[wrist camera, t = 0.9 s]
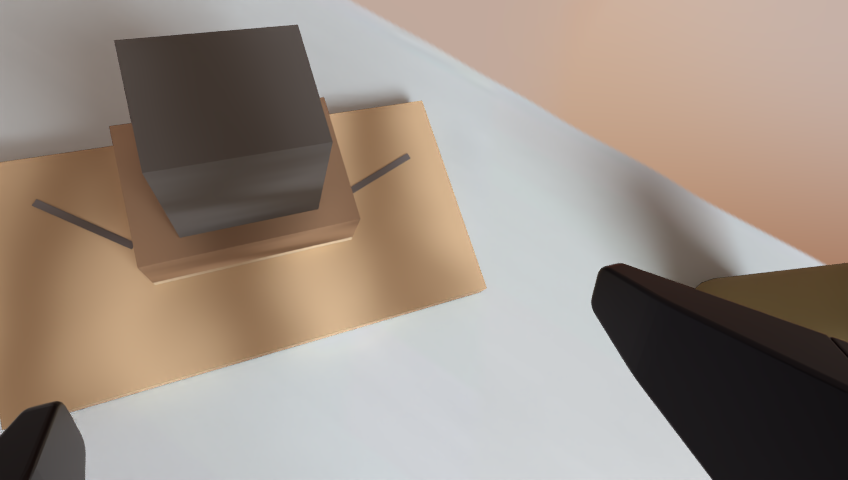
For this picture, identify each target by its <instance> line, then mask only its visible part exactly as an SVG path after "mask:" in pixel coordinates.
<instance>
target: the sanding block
mask: <svg viewBox="0 0 848 480" xmlns="http://www.w3.org/2000/svg"><path fill="white" fill-rule="evenodd" d="M114 42H115V46H116V51H117V56H118V61H119V65H120V70H121V75H122V80H123V84H124V89H125V94H126V99H127V103H128V108H129V113H130V118H131V123H129V124H122V125H114V126H109V128H110V133H111V138H112V143H113V148H114V153H115V158H116V163H117V168H118V173H119V178H120V183H121V188H122V193H123V198H124V203H125V208H126V213H127V218H128V223H129V228H130V233H131V238H132V243H133V248H134V253H135V258H136V263H137V268H138V269H139V270H140V271H141V272H142V273H143V274H144V275H145V276H146V277H147V278H148V279H149V280H150V281H151V282H152V283H153V284H155V285H158V284H162V283H167V282H171V281H175V280H179V279H184V278H188V277H192V276H197V275H201V274H205V273H210V272H214V271H218V270H222V269H227V268H231V267H235V266H240V265H244V264H248V263H253V262H257V261H261V260H265V259H270V258H274V257H278V256H283V255H287V254H291V253H296V252H300V251H304V250H308V249H313V248H317V247H321V246H326V245H330V244H334V243H339V242H343V241H347V240H351V239H352V237H353V235H354V232H355V230H356V228H357V226H358V224H359V221H360V219H361V218H360V215H359V212H358V208H357V205H356V202H355V198H354V195H353V192H352V188H351V185H350V182H349V179H348V175H347V172H346V169H345V165H344V162H343V159H342V155H341V152H340V149H339V145H338V142H337V139H336V135H335V132H334V129H333V125H332V122H331V119H330V115H329V112H328V109H327V106H326V102H325V99H324V97H322V98H320V97H319V94H318V91H317V87H316V84H315V81H314V77H313V74H312V71H311V67H310V64H309V61H308V57H307V54H306V51H305V47H304V44H303V41H302V37H301V34H300V31H299V27H298V25H289V26H277V27H265V28H254V29H242V30H230V31H218V32H207V33H195V34H183V35H171V36H160V37H148V38H136V39H124V40H114Z"/></svg>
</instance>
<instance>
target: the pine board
mask: <svg viewBox="0 0 848 480" xmlns="http://www.w3.org/2000/svg"><path fill="white" fill-rule="evenodd" d="M329 115H330V119H331V122H332V125H333V129H334V132H335V135H336V139H337V142H338V145H339V149H340V152H341V155H342V159H343V162H344V165H345V169H346V172H347V175H348V179H349V182H350V185H351V188H352V192H353V195H354V198H355V202H356V205H357V208H358V212H359V215H360V218H361V219H360V221H359V224H358V226H357V228H356V230H355V232H354V235H353V237H352V239H351V240H347V241H343V242H339V243H334V244H330V245H326V246H321V247H317V248H313V249H308V250H304V251H300V252H296V253H291V254H287V255H283V256H278V257H274V258H270V259H265V260H261V261H257V262H253V263H248V264H244V265H240V266H235V267H231V268H227V269H222V270H218V271H214V272H210V273H205V274H201V275H197V276H192V277H188V278H184V279H179V280H175V281H171V282H167V283H162V284H158V285H155V284H153V283H152V282H151V281H150V280H149V279H148V278H147V277H146V276H145V275H144V274H143V273H142V272H141V271H140V270H139V269H138V268H137V263H136V258H135V253H134V248H133V243H132V238H131V233H130V228H129V223H128V218H127V213H126V208H125V203H124V198H123V193H122V188H121V183H120V178H119V173H118V168H117V163H116V158H115V153H114V148H113V146H108V147H102V148H95V149H88V150H81V151H74V152H67V153H61V154H54V155H47V156H40V157H33V158H26V159H20V160H13V161H6V162H0V419H1V426H2V430H4V429H7V427H8V426H9V425H10V424H11V423H12V422H13V421H14V420H15V419H16V417H17V416H18V415H19V414H20V413H21V412H22V411H24V410H25V409H27V408H29V407H33V406H37V405H41V404H45V403H49V402H53V401H60V402H62V403H63V404H64V405H65V406H66V407H67V409H68V411H69V413H70V412H73V411H77V410H80V409H83V408H87V407H90V406H94V405H97V404H100V403H104V402H107V401H111V400H114V399H118V398H121V397H124V396H128V395H131V394H135V393H138V392H141V391H145V390H148V389H152V388H155V387H158V386H162V385H165V384H169V383H172V382H175V381H179V380H182V379H186V378H189V377H193V376H196V375H199V374H203V373H206V372H210V371H213V370H216V369H220V368H223V367H227V366H230V365H233V364H237V363H240V362H244V361H247V360H250V359H254V358H257V357H261V356H264V355H268V354H271V353H274V352H278V351H281V350H285V349H288V348H291V347H295V346H298V345H302V344H305V343H308V342H312V341H315V340H319V339H322V338H325V337H329V336H332V335H336V334H339V333H343V332H346V331H349V330H353V329H356V328H360V327H363V326H366V325H370V324H373V323H377V322H380V321H383V320H387V319H390V318H394V317H397V316H401V315H404V314H407V313H411V312H414V311H418V310H421V309H424V308H428V307H431V306H435V305H438V304H441V303H445V302H448V301H452V300H455V299H458V298H462V297H465V296H469V295H472V294H476V293H479V292H481V291H483V290H484V289H486V288H487V287H486V285H485V282H484V279H483V276H482V273H481V270H480V267H479V264H478V261H477V259H476V256H475V253H474V250H473V247H472V244H471V241H470V238H469V235H468V233H467V230H466V227H465V224H464V221H463V218H462V215H461V212H460V209H459V207H458V204H457V201H456V198H455V195H454V192H453V189H452V186H451V183H450V181H449V178H448V175H447V172H446V169H445V166H444V163H443V160H442V157H441V155H440V152H439V149H438V146H437V143H436V140H435V137H434V134H433V131H432V129H431V126H430V123H429V120H428V117H427V114H426V111H425V108H424V105H423V103H422V101H416V102H410V103H403V104H396V105H389V106H382V107H375V108H368V109H362V110H355V111H348V112H341V113H334V114H329Z"/></svg>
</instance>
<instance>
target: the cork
mask: <svg viewBox="0 0 848 480" xmlns="http://www.w3.org/2000/svg"><path fill="white" fill-rule="evenodd" d="M695 289H697V290H700V291H703V292H706V293H709V294H711V295H714V296H717V297H720V298H723V299H726V300H729V301H731V302H734V303H737V304H740V305H743V306H746V307H748V308H751V309H754V310H757V311H760V312H763V313H766V314H768V315H771V316H774V317H777V318H780V319H783V320H786V321H788V322H791V323H794V324H797V325H800V326H803V327H806V328H808V329H811V330H814V331H817V332H820V333H823V334H826V335H827V336H828V337H834V338H837V339H840V340H843V341H846V342H848V263H842V264H834V265H825V266H817V267H808V268H800V269H791V270H783V271H774V272H766V273H757V274H749V275H740V276H732V277H723V278H715V279H711V280H708V281H705V282H703V283H701V284H700V285H699V286H698V287H696V288H695Z"/></svg>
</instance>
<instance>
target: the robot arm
mask: <svg viewBox="0 0 848 480" xmlns="http://www.w3.org/2000/svg"><path fill="white" fill-rule="evenodd" d="M591 304H592V309H593V311H594V313H595V315H596V317H597V318H598V320H599V321H600V323H601V325H602V326H603V328H604V329H605V331H606V333H607V334H608V336H609V338H610V339H611V341H612V342H613V344H614V346H615V347H616V349H617V350H618V352H619V354H620V355H621V357H622V359H623V360H624V362H625V363H626V365H627V367H628V368H629V370H630V371H631V373H632V374H633V376H634V377H635V378H636V380H637V381H638V383H639V384H640V385H641V387H642V388H643V389H644V391H645V392H646V393H647V395H648V396H649V397H650V399H651V400H652V401H653V403H654V404H655V405H656V406H657V408H658V409H659V410H660V412H661V413H662V414H663V416H664V417H665V418H666V420H667V421H668V422H669V424H670V425H671V426H672V427H673V429H674V430H675V431H676V433H677V434H678V435H679V437H680V438H681V439H682V441H683V442H684V443H685V445H686V446H687V447H688V448H689V450H690V451H691V452H692V454H693V455H694V456H695V458H696V459H697V460H698V462H699V463H700V464H701V466H702V467H703V468H704V470H705V471H706V472H707V473H708V475H709V476H710V477H711V479H712V480H848V342H846V341H843V340H840V339H837V338H834V337H828V336H827V335H826V334H823V333H820V332H817V331H814V330H811V329H808V328H806V327H803V326H800V325H797V324H794V323H791V322H788V321H786V320H783V319H780V318H777V317H774V316H771V315H768V314H766V313H763V312H760V311H757V310H754V309H751V308H748V307H746V306H743V305H740V304H737V303H734V302H731V301H729V300H726V299H723V298H720V297H717V296H714V295H711V294H709V293H706V292H703V291H700V290H697V289H694V288H691V287H689V286H686V285H683V284H680V283H677V282H674V281H672V280H669V279H666V278H663V277H660V276H657V275H654V274H652V273H649V272H646V271H643V270H640V269H637V268H634V267H632V266H629V265H626V264H623V263H617V264H613V265H608V266H605V267H603V268H601V269H600V271H599V272H598V275H597V279H596V283H595V287H594V291H593V295H592V300H591ZM85 456H86V455H85V445H84V441H83V438H82V435H81V434H80V432H79V430H78V428H77V426H76V424H75V422H74V420H73V418H72V417H71V415H70V413H69V411H68V409H67V407H66V406H65V405H64V404H63V403H62V402H60V401H53V402H49V403H45V404H41V405H37V406H33V407H29V408H27V409H25V410H24V411H22V412H21V413H20V414H19V415H18V416H17V417H16V419H15V420H14V421H13V422H12V423H11V424H10V425H9V426H8V427H7V429H6V430H5V431H4V432H3V433H2V434H1V435H0V480H85Z"/></svg>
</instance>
